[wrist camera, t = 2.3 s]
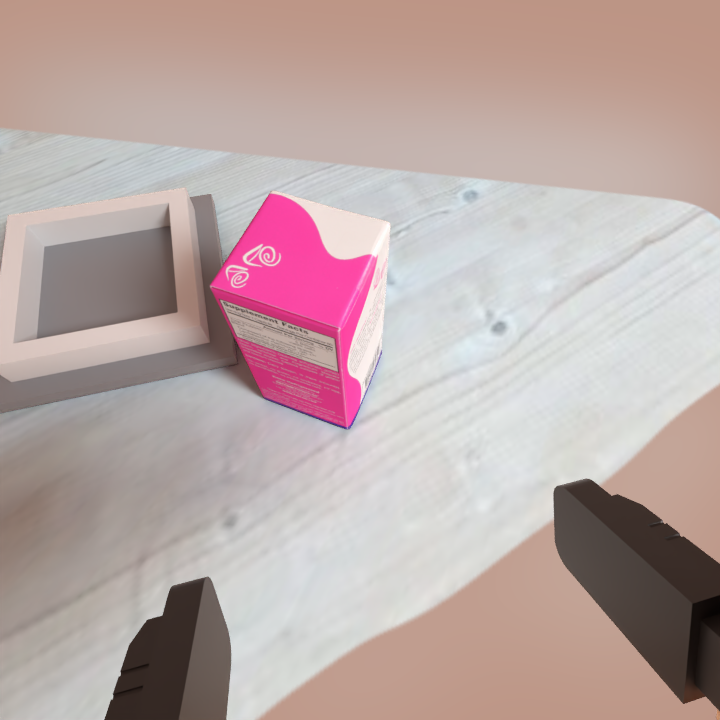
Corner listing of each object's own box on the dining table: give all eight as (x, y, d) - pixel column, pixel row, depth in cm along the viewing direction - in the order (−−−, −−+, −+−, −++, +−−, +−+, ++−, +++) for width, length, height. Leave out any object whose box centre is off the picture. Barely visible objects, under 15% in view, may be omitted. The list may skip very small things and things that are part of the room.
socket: (-4, 413, 27) (-42, 393, 24) (18, 236, 33) (-12, 204, 30) (237, 364, 29) (225, 339, 26) (214, 204, 35) (203, 171, 32)
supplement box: (298, 323, 30) (272, 182, 20) (383, 352, 29) (400, 221, 19) (258, 399, 28) (204, 282, 17) (349, 434, 27) (349, 332, 17)
